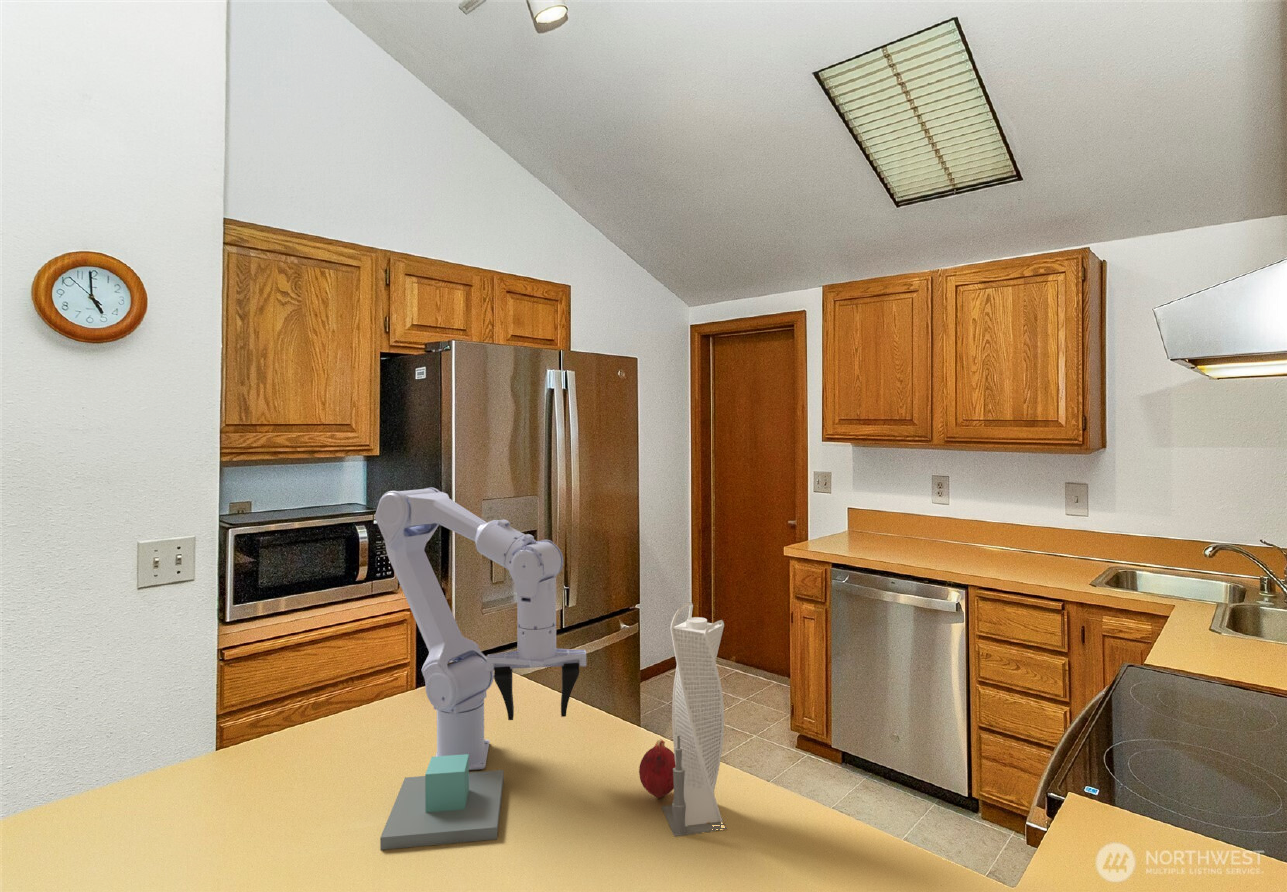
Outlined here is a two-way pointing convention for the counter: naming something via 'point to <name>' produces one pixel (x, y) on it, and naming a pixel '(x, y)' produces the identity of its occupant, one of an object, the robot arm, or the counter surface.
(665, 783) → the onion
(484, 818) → the cutting board
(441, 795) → the cube
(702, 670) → the skyscraper
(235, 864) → the counter surface
